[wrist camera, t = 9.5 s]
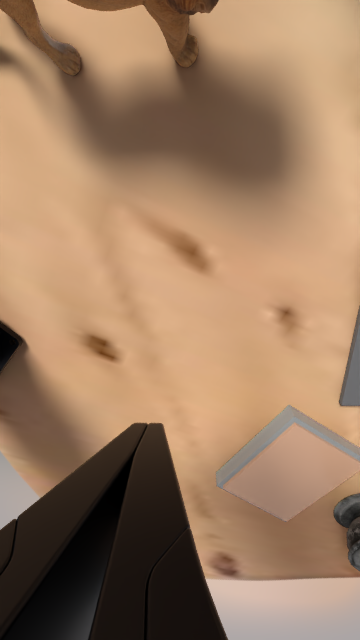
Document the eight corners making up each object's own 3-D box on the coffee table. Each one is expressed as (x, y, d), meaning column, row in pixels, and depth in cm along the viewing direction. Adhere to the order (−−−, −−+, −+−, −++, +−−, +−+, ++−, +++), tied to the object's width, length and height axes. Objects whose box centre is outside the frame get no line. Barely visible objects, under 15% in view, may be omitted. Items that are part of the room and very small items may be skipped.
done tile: (280, 502, 27) (286, 525, 25) (215, 467, 26) (216, 489, 24) (359, 444, 23) (373, 466, 21) (287, 400, 22) (295, 419, 20)
